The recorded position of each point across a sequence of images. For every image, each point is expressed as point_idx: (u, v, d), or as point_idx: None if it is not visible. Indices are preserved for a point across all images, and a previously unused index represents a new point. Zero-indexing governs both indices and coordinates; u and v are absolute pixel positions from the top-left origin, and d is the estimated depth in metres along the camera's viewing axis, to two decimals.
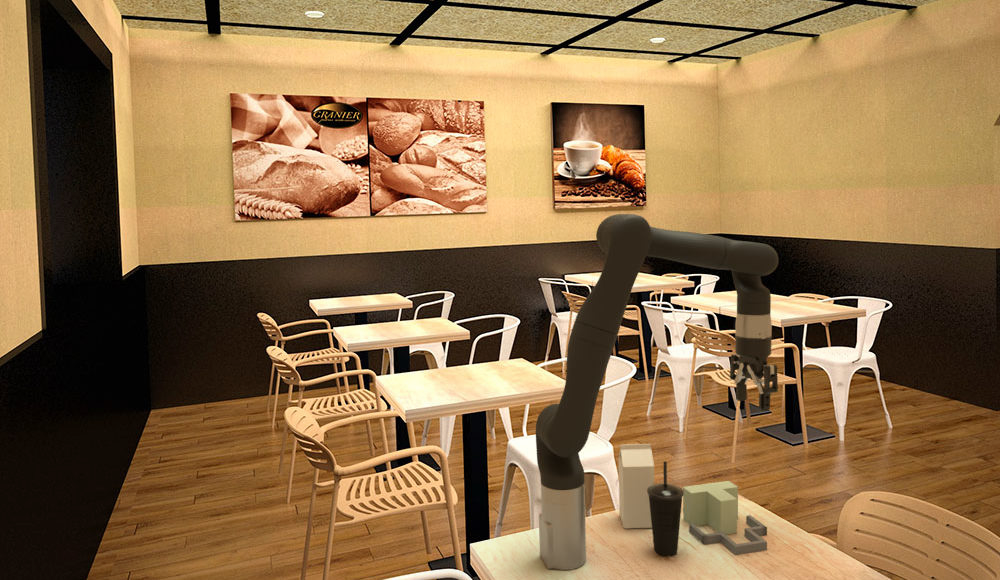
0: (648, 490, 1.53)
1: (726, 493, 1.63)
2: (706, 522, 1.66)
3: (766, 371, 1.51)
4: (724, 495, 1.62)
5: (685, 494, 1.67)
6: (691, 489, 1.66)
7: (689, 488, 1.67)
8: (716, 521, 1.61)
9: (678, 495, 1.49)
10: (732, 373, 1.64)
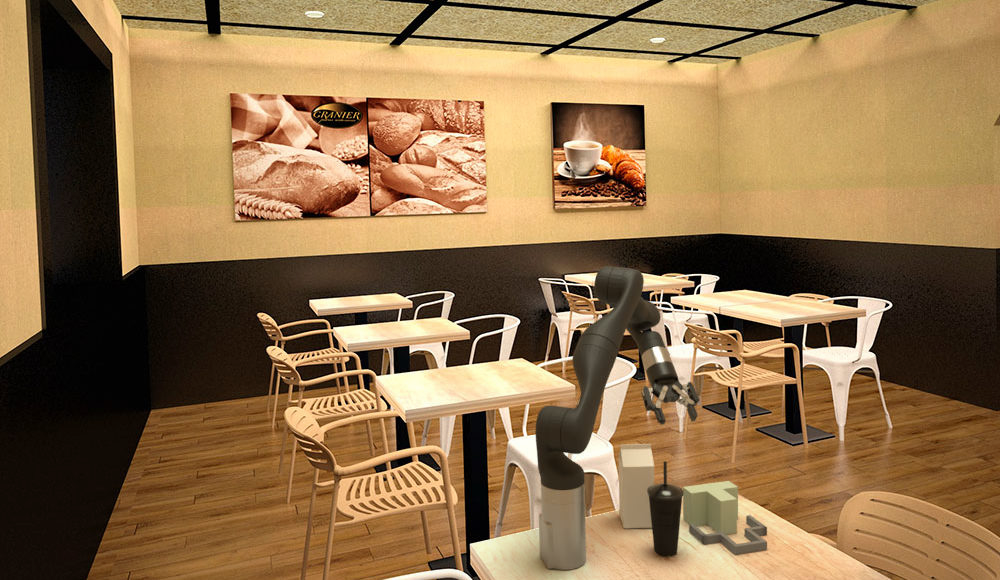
0: (648, 490, 1.53)
1: (726, 493, 1.63)
2: (706, 522, 1.66)
3: (692, 386, 1.88)
4: (724, 495, 1.62)
5: (685, 494, 1.67)
6: (691, 489, 1.66)
7: (689, 488, 1.67)
8: (716, 521, 1.61)
9: (678, 495, 1.49)
10: (650, 400, 1.83)
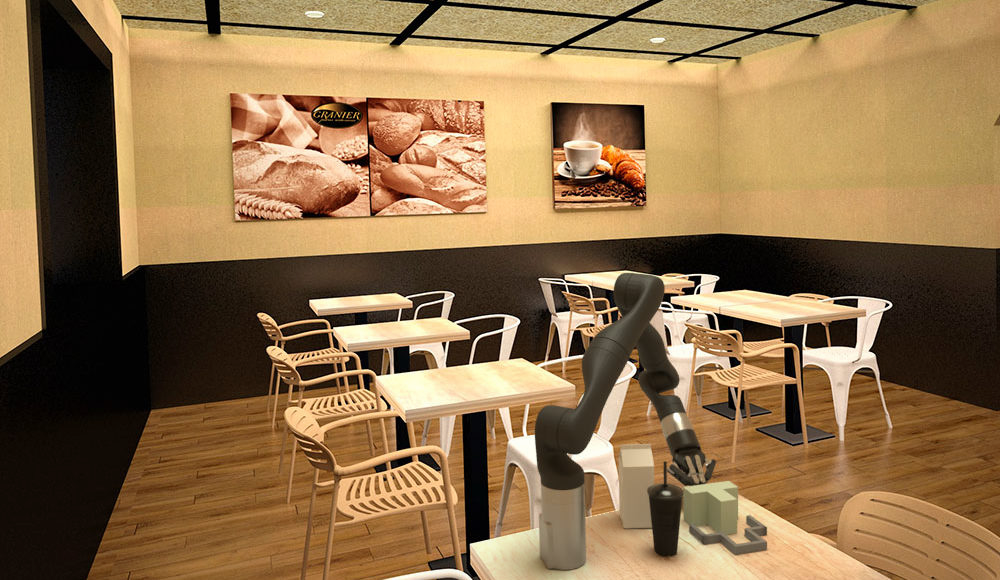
0: (648, 490, 1.53)
1: (726, 493, 1.63)
2: (706, 522, 1.66)
3: (713, 464, 1.75)
4: (724, 495, 1.62)
5: (685, 494, 1.67)
6: (691, 489, 1.66)
7: (689, 488, 1.67)
8: (716, 522, 1.61)
9: (678, 495, 1.49)
10: (686, 475, 1.72)
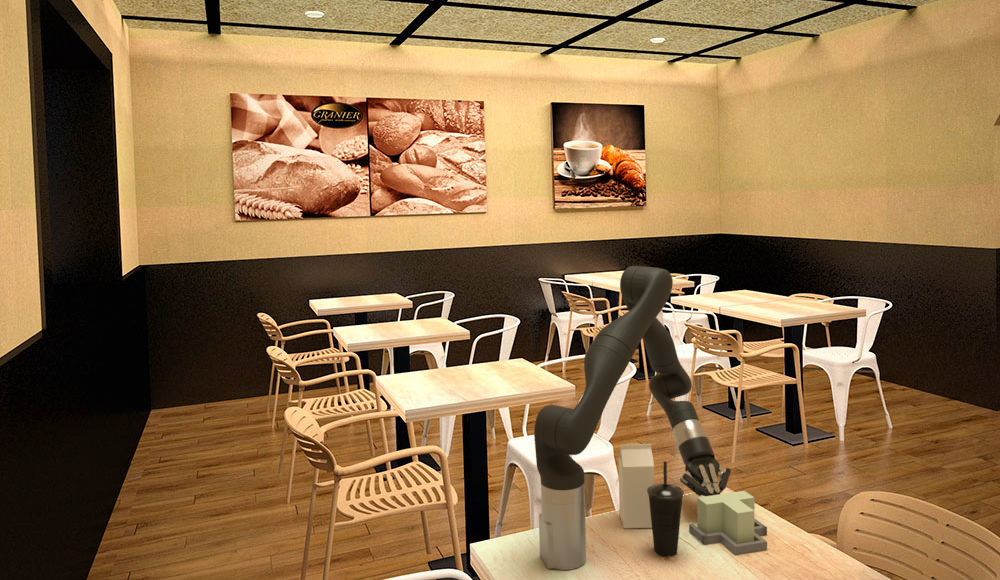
0: (648, 490, 1.52)
1: (743, 504, 1.57)
2: None
3: (728, 473, 1.69)
4: (740, 506, 1.56)
5: (700, 505, 1.61)
6: (706, 500, 1.60)
7: (704, 498, 1.61)
8: (733, 534, 1.55)
9: (678, 495, 1.49)
10: (700, 485, 1.66)
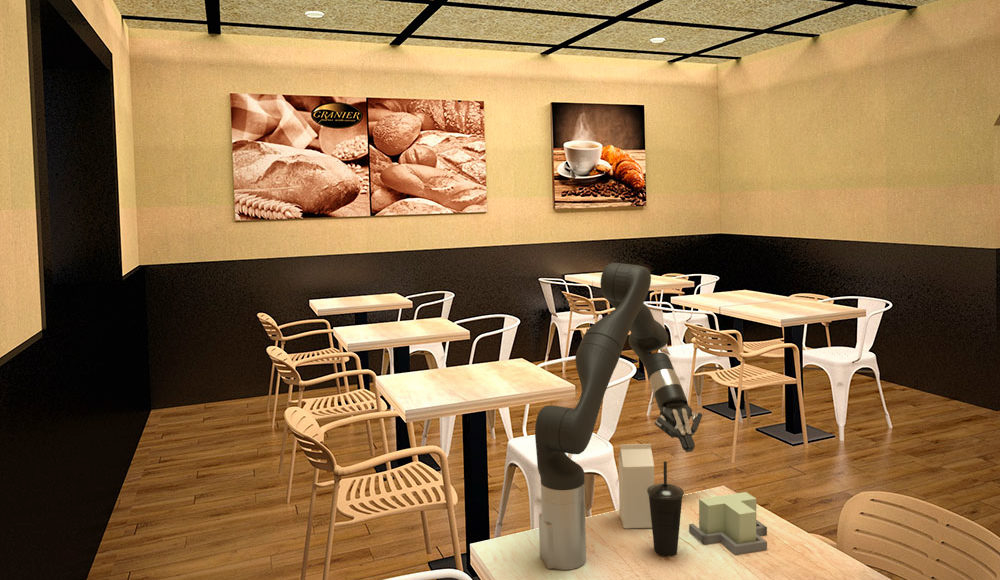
0: (648, 490, 1.53)
1: (744, 506, 1.56)
2: None
3: (700, 417, 1.81)
4: (742, 508, 1.55)
5: (701, 506, 1.60)
6: (708, 501, 1.59)
7: (706, 500, 1.60)
8: (735, 535, 1.55)
9: (678, 495, 1.49)
10: (672, 427, 1.78)
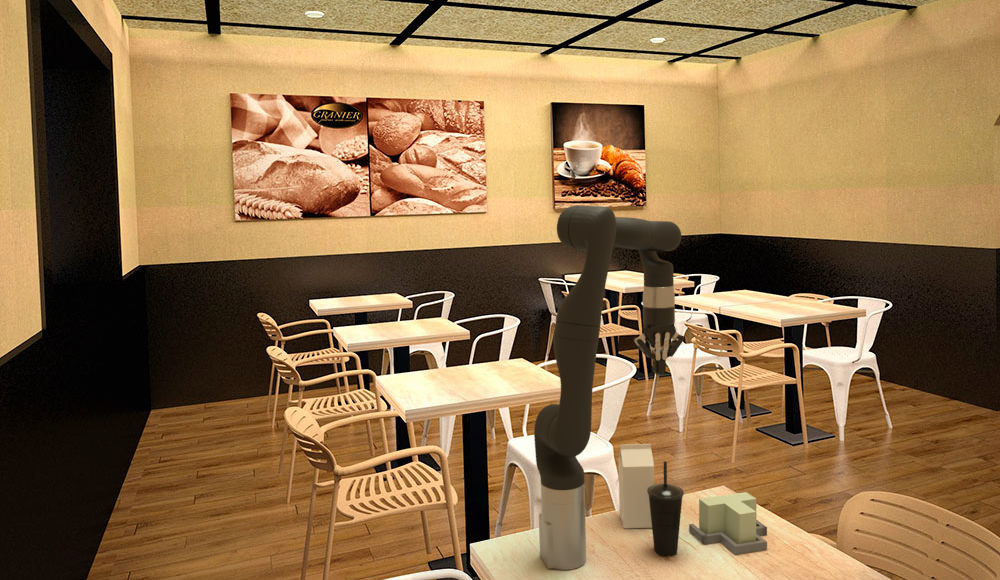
0: (648, 490, 1.53)
1: (744, 506, 1.56)
2: None
3: (681, 341, 1.73)
4: (742, 508, 1.55)
5: (701, 506, 1.60)
6: (708, 501, 1.59)
7: (706, 500, 1.60)
8: (735, 535, 1.55)
9: (678, 495, 1.49)
10: (649, 352, 1.72)
